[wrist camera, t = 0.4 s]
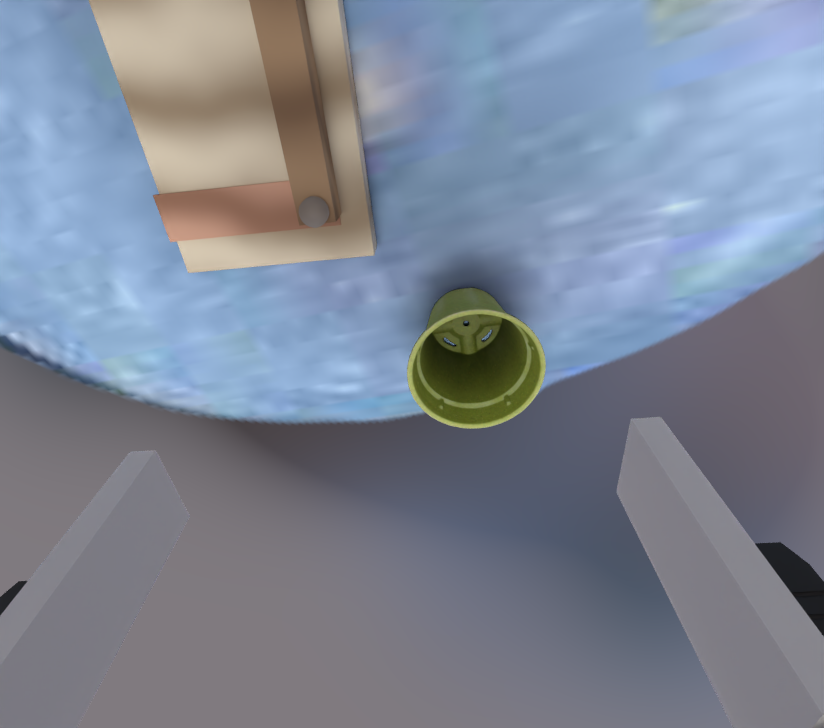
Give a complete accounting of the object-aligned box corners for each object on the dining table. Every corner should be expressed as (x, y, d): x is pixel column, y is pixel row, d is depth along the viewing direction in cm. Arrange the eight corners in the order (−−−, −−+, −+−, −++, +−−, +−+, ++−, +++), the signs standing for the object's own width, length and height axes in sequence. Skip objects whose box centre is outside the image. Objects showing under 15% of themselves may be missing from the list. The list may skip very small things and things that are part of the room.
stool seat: (60, -129, 25) (23, -152, 22) (319, -168, 24) (308, -196, 21) (197, 262, 36) (182, 274, 33) (377, 245, 35) (374, 256, 33)
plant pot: (388, 335, 39) (381, 391, 31) (450, 243, 35) (459, 283, 27) (476, 384, 41) (488, 447, 34) (543, 304, 37) (575, 355, 30)
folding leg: (341, 215, 31) (334, 225, 28) (307, 218, 31) (297, 229, 29) (302, -10, 25) (289, -22, 22) (260, -4, 25) (242, -16, 22)
